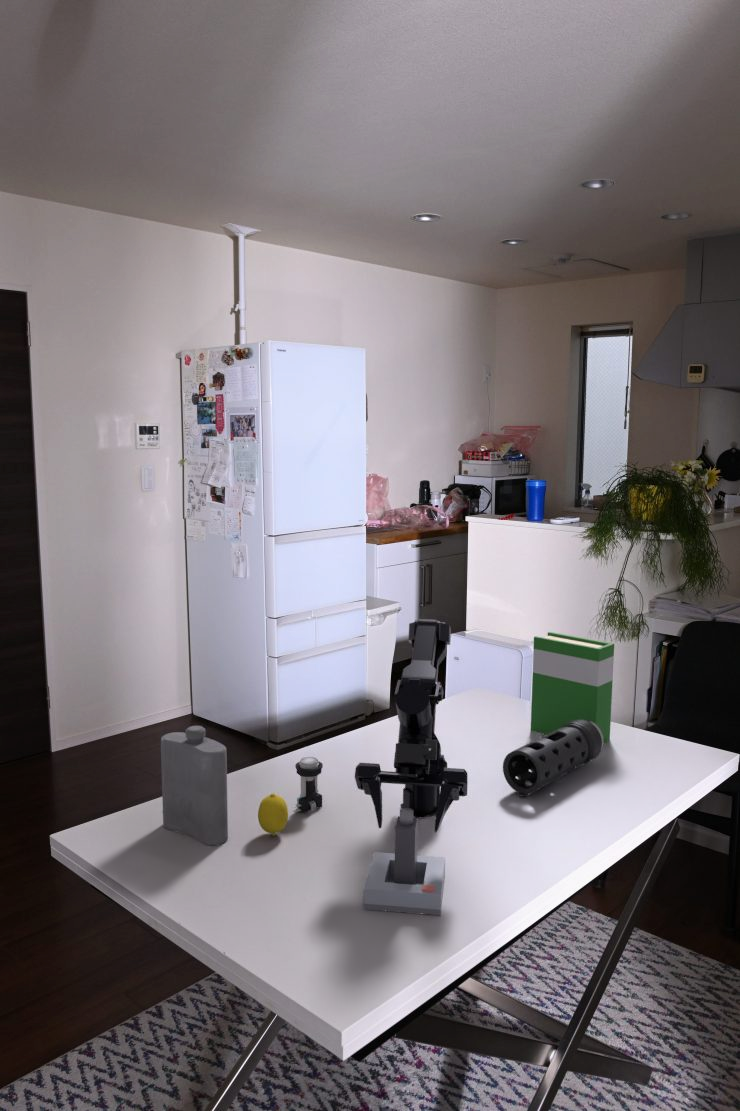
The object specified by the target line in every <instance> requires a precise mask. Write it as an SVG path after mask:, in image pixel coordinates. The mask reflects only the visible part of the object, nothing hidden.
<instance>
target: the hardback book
mask: <svg viewBox="0 0 740 1111" xmlns="http://www.w3.org/2000/svg"><path fill="white" fill-rule="evenodd" d="M614 656H615V643H614V642H607V641H602V640H596V639H592V638H591V639H590V638H585V637H579V636H574V635H570V634H564V633H558V632H552V631H548V632H547V635H546V636H544V637H541V636H538V635H537V636H536V635H535V636H533V652H532V680H531V681H532V683H531V712H530V731H532V732H534V733H538V734H542V735H544V736H545V735H547V734H549V733H551V732H553V731H555V730H557V729H559V728H561V727H562V726H563V725H565V724H566V723H568V722H570V721H572V720H576V719H583V720H589V721H592V722H593V723H595V724H596V725H597V726H598V727H599V728H600V730H601V732H602V734H603V741H604V742H603V744H606V743H607V742H609V741H610V740H611V738H610V737H611V719H612V702H613V701H612V700H613V697H612V696H613V681H614V680H613V678H614V661H615V660H614V658H615V657H614Z"/></svg>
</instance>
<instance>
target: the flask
mask: <svg viewBox="0 0 740 1111" xmlns="http://www.w3.org/2000/svg"><path fill="white" fill-rule="evenodd" d="M160 755H161V757H160V759H161V760H160V761H161V763H160V765H161V791H162V795H161V796H162V797H161V798H162V822H163V823H162V824H163V828H165V829H166V830H169V831H172V830H173V832H176V831H177V832H178V833H180V832H181V834H184V835H186V834H187V836H188V837H191V836H192V838H194V839H196V840H197V841H199V842H201V843H202V844H204V845H206V846H213V847H214V846H219V845H222V844H224V843H225V842H226V841H228V839H229V822H228V821H229V820H228V817H229V816H228V814H229V813H228V810H229V809H228V765H227V762H228V760H227V747H226V746H225V745H224V744H223V743H220V742H219V741H217V740H215V739H213V738H212V739H211V738H209V737H206V728H204V726H202V725H192V726H191V725H190V726H189V727H187V728H186V729H185V732H183V731H182V732H181V731H180V732H179V731H178V732H177V731H176V732H170V733H166V734H164V735H162V736H161V738H160ZM177 832H176V833H177Z"/></svg>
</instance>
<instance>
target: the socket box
mask: <svg viewBox="0 0 740 1111" xmlns="http://www.w3.org/2000/svg"><path fill="white" fill-rule="evenodd" d="M394 872H395V852H394V853H392V852H391V853H390V852H378V851H374V852H373V855H372V859H371V863H370V866H369V870H368V873H367V876H366V880H365V883H364V887H363V910H364V911H365V910H367V911H377V910H382V911H381V912H389V911H399V912H398V913H401V912H409V913H408V914H413V913H423V914H422V915H425V914H431V915H430V916H437V915H442V905H443V897H444V890H445V889H444V888H445V879H446V857H444V856H434V855H432V856H431V855H418V854H417V882H416V885H410V884H397V883H394ZM385 910H386V911H385Z"/></svg>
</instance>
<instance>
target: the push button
mask: <svg viewBox="0 0 740 1111" xmlns="http://www.w3.org/2000/svg"><path fill="white" fill-rule="evenodd" d="M323 767H324V766H323V763H322V762H321V761H319V759H318V758H317V757H314V756H306V757H301V758H300V759H299V761H298V762H297V763H295V769H296V774H297V775H298V776H299V777H300V794H299V796H298V797H297V798H296V802H297V803H296V804H295V805H292V806H291V808H293V810H292V812H293V813H297V812H300V813H302V814H303V813H306V812H309V811H310V812H313V811H315V810H316V809H321V808H322V807H323V795H322V794H321V793H319V789H318V776H320V775H321V774H322V769H323ZM317 807H318V808H317ZM320 807H321V808H320Z"/></svg>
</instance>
